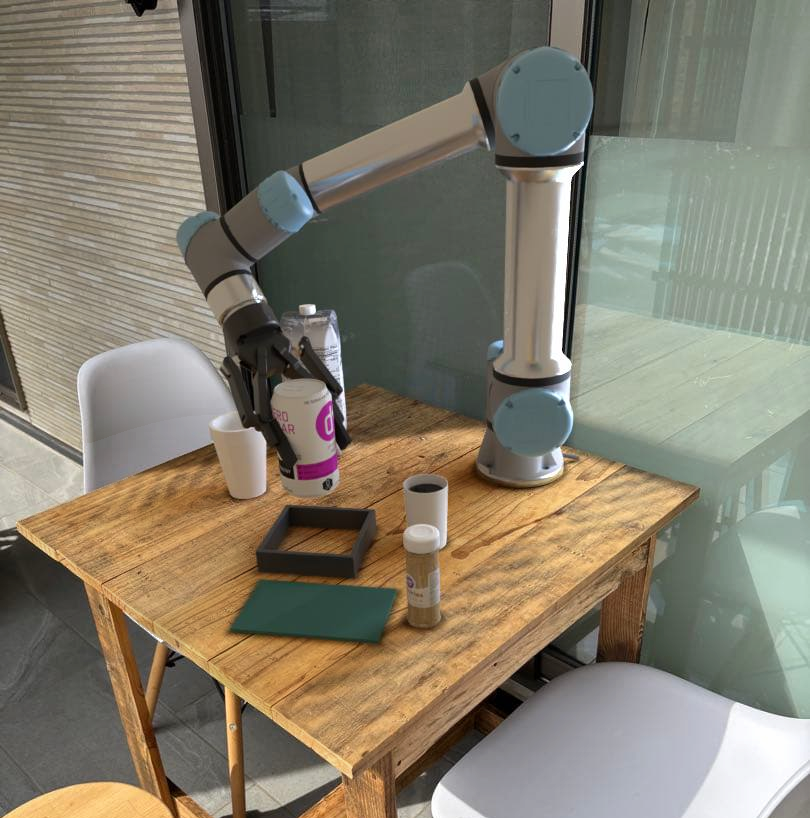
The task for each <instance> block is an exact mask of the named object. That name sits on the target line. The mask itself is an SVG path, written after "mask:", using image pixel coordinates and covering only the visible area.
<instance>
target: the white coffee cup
mask: <svg viewBox="0 0 810 818" xmlns="http://www.w3.org/2000/svg"><path fill="white" fill-rule="evenodd" d="M402 489H403V501H404V508H405V509H404V510H405V519H406V529H407V528H408V527H410V526H413V525H417V524H427V525H431V526H434V527H435V528H437V529H438V531H439V536H440V545H439V550H441V549H443V548H444V547H445V546H446V545H447V535H448V501H449V499H448V497H449V496H448V495H449V481H448V480H447V479H446V477H444V476H442V475H439V474H436V473H435V474H434V473H420V474H414V475H412V476H409V477H407V478H406V479H405V480H403V484H402Z"/></svg>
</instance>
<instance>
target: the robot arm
mask: <svg viewBox="0 0 810 818" xmlns="http://www.w3.org/2000/svg"><path fill="white" fill-rule="evenodd" d="M593 107H594V91H593V86H592V82H591V79H590V76H589V74H588V72H587V70H586V68H585V67H584V65H582V62H581V61H580V60H579V59H578V58H577V57H576V56H575V55H573V54H571V52H569V51H567V50H565V49H563V48H560V47H558V46H548V45H542V46H533V47H527V48H524V49H521V50H519V51H518V52H516V53H514V54H513V55H511V56H510V57H509V58H507V59H506V60H504V61H503V62H501V63H500V64H498V65H496V66H495V67H492V69H489V70H488V71H487V72H484V73H482V74H481V75H479V76H477V77H475V78H473V79H470V80H468V81H466V82H465V85H464V87H463V89H462V91H461V92H460V93H458V94H456V95H454V96H453V95H452V96H451V97H449V98H447V99H444V100H442V101H440V102H438V103H436V104H432V105H431V106H429V107H426V108H424V109H421V110H419V111H417V112H415V113H412V114H411V115H408V116H406V117H403V118H401V119H398V120H397V121H394V122H392V123H389V124H388V125H385V126H383V127H381V128H379V129H376V130H374V131H372V132H369V133H367V134H365V135H363V136H361V137H358V138H355V139H353V140H351V141H349V142H347V143H345V144H342V145H340V146H337V147H335V148H333V149H331V150H328V151H326V152H323V153H322V154H319V155H317V156H315V157H313V158H310V159H308V160H305V161H303V162H302V163H300V164H298V165H295V166H292V167H290V168H287V169H285V170H278V171H276V172H274V173H272V174H270V175H269V176H267V177H266V178H265V179H264V180H263V181H261V182H260V183H259V185H258V186H256V187H255V188H254V189H252V191H250V192H249V193H248V194H247V195H245V197H243V198H242V199H241V200H240V201H239V202H237V203H236V204H235V205H234V206H233V207H232V208H231V209H229V210H228V211H227V212H226V213H224V214H223V215H220V214H218V213H216V212H215V211H210V210H207V211H206V210H205V211H200V212H197V214H195V215H193V216H191V215H190V216H189V217H187V218H186V219H185V220H183V221H182V222H181V224H180V225H179V227H177V230H176V233H175V242H176V243H177V244H176V245H177V247H178V249H179V252H180V253H181V255H182V258H183V261H184V264H185V266H186V267H187V270H189V272H190V273H191V275H192V277H193V279H194V280H195V282H196V285H197V286H198V288H199V289H200V292H201V293H202V295H203V297H204V299H205V301H206V303H207V304H208V306H209V308H210V310H211V312H212V314H213V316H214V318H215V320H216V321H217V323H218V325H219V326H220V327H221V328H222V333H223V335H224V337H225V338H226V340H227V343H228V345H229V346H230V348H231V349H232V352H234V355H233V356H228V355H227V356H224V357H223V360H222V361H221V364H220V367H219V371H220V372H221V374H222V375H223V376H224V378H225V380H227V383H228V386H229V389H230V392H231V395H232V398H233V401H234V405H235V407H236V408H235V409H236V411H238V414H239V417H240V420H241V423H242V426H243V427H244V428H245V429H249V428H250V427H254V428H255V430H256V431H258V432H261V433H262V435H263V437H264V438H265V440H266V445H267V446H268V447H269V448H270V449H274V448H275V449H276V452H277V451H278V453H279V455H280V457H281V459H282V461H283V462H284V464H285V466H286V468H287V470H289V469H291V468H293V466H294V465H295V463H296V462H297V461H298V458H297V457H296V455H295V453H294V451H293V449H292V447H291V445H290V443H289V442H288V440H287V438H286V436H285V434H284V432H283V430H282V429H281V427H280V425H279V423H278V421H277V419H276V418H275V419H273V418H271V419H270V409H269V407H270V406H269V393H268V382H267V379H268V378H270V377H271V376H277V375H281V376H282V375H284V376H285V377H286V378H290V379H291V380H294V379H316V380H320V381H322V382H324V383H325V384H326V388H327V389H328V391H329V392H330V394H331V397H332V407H333V417H334V428H335V438H336V443H337V445H338V446H339V448H340V450H341V451H342V452H343V451H345V450H346V449H347V448H348V447H349V445H350V444H351V443H352V438H351V436H350V434H349V432H348V431H347V428H346V429H345V427H344V425H343V422H344V416H343V414H342V412H341V410H340V409H339V407H338V405H337V403H336V400H337V399H338V397H339V396H340V395H341V393H342V392H343V388H342V387H341V385H340V384H339V383H338V381H337V380H336V379H335V377H334V376H333V375H332V374H331V372H330V371H329V370H328V368H327V367H326V366H325V365H324V363H323V362H322V361H321V359H320V358H319V357H318V355H317V354H316V353H315V352H314V350H313V348H312V346H311V343H310V340H309V338H308V337H306V336H303V337H302V338H301V340H295V341H290V340H289V339H288V338H287V337H286V336H285V335H284V334H283V333H282V330H281V326H280V324H279V322H280V321H279V320H278V318H277V317H276V315H275V313H274V311H273V309H272V308H271V306H270V305H269V304H268V300H267V298H266V296H265V295H264V292H263V290H262V289H261V287H260V286H259V284H258V282H257V280H256V279H255V277H254V274H253V273H252V270H251V268H250V267H252V266H253V265H254V264H255V263H257V262H258V261H260V260H261V259H262V258H263V257H264V256H266V255H267V254H268V253H270V251H272V250H273V249H275V248H276V247H278V246H279V245H280V244H282V243H283V242H284V241H286V240H287V239H288V238H289V237H290V236H292V235H294V234H295V233H298V232H299V231H300V229H301V228H303V226H305V224H307V222H309V221H310V220H311V219H313V218H315V217H318V216H320V215H322V214H324V213H326V212H328V211H330V210H333V209H335V208H338V207H341V206H342V205H346V204H347V203H350V202H352V201H355V200H357V199H360V198H362V197H363V196H367V195H369V194H371V193H373V192H377V191H378V190H381V189H383V188H386V187H388V186H390V185H393V184H395V183H399V182H400V181H403V180H405V179H407V178H410V177H412V176H415V175H416V174H419V173H422V172H425V171H426V170H429V169H432V168H434V167H436V166H438V165H441V164H443V163H446V162H449V161H451V160H452V159H455V158H458V157H460V156H463V155H465V154H468V153H469V152H472V151H474V150H477V149H478V148H479V149H482V150H484V151H486V152H490V151H491V152H492V151H493V150H495V151H494V168H495V169H496V170H497V171H499V173H500V174H501V175H502V177H504V178H505V220H504V221H505V222H504V225H505V226H504V273H503V274H504V276H503V278H504V280H503V283H504V284H503V328H502V329H503V331H502V332H503V335H502V338H503V339H501V340H497V341H494V342H492V343H491V344H490V345H489V346H488V347H487V353H486V359H485V362H486V428H485V432H484V435H483V438H482V441H481V444H480V446H479V449H478V452H477V454H476V459H475V465H476V466H475V470H476V473H477V474H478V476H479V477H480V478H482V479H483V480H485V481H486V482H489V483H491V484H493V485H497V486H501V487H507V488H516V489H517V488H521V489H522V488H536V487H540V486H544V485H547V484H550V483H553V482H555V481H556V480H557V479H559V478H560V477H561V476H562V475H563V472H564V465H565V464H564V463H565V460H564V459H569V460H570V459H571V460H576V461H579V460H580V456H579V455H576V454H571V453H567V452H566V453H564V452H562V449H561V446H563V444H565V442H566V441H567V439H568V438H569V436H570V434H571V432H572V429H573V424H574V412H573V408H572V405H571V403H570V395H571V394H570V391H571V374H572V362H571V360H570V359H569V358H568V357H567V356H566V355H565V354H564V353H563V351H562V348H563V333H564V332H563V330H564V314H565V313H564V312H565V294H566V277H567V275H566V274H567V259H568V258H567V256H568V255H567V254H568V239H569V238H568V237H569V222H570V221H569V219H570V218H569V217H570V201H571V184H572V183H571V182H572V177H573V176H574V175H575V173H576V172H577V171H578V170H580V168H581V167H582V166H584V156H585V141H586V130H587V128H588V126H589V122H590V120H591V116H592V112H593ZM291 350H292V351H294V352H295V354H296V356H297V357H300V360H301V361H302V363H303V364H304V366H305V367H306V368H307V370H308V371H309V372H310V373H311V374H310V373H309V372H308V371H307V370H306V369H304V368H303V367H302V366H301V365H300V363H299V361H298V360H297V359H296V358H295V357H294V356H293V355H292V354H291ZM288 365H290V366H289V368H288V367H287V366H288ZM241 367H242V368H244V369H246V370H247V371H249V372H250V374H251V376H250V377H251V385H252V390H253V400H254V401H253V403H254V404H253V405H252V401H251V398H250V396H249V393H248V389H247V386H246V383H245V380H244V377H243V374H242V371H241ZM253 406H254V407H253ZM254 411H255V414H254Z"/></svg>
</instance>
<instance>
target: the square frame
mask: <svg viewBox="0 0 810 818" xmlns="http://www.w3.org/2000/svg"><path fill="white" fill-rule="evenodd" d="M292 527H294V528H295V527H297V528H313V529H314V528H315V529H331V530H332V529H334V530H351V531H359V532H358V535H357V537H356V539H355V542H354V544H353V546H352V548H351V550H350V552H349V554H346V553H345V554H344V553H330V552H329V553H328V552H327V553H326V552H312V551H295V550H278V549H279V548H280V547H281V544H282V543H283V541H284V540H285V538H286V536H287V535H288V533H289V531H290V530H291V528H292ZM377 528H378V527H377V513H376V508H358V507H357V508H356V507H339V506H338V507H337V506H321V505H319V506H317V505H299V504H298V505H297V504H285V506H284V507H283V509H282V510H281V512H280V513H279V514H278V516H277V518H276V519H275V520H274V522H273V524H272V526H271V527H270V528H269V530H268V531H267V533H266V534H265V536H264V538H263V539H262V540H261V543H260V544H259V546H258V547H257V548H256V550H255V552H254V553H255V559H256V565H257V571H258V573H267V574H268V573H269V574H283V575H299V576H311V577H312V576H314V577H315V576H316V577H326V578H327V577H329V578H343V579H344V578H345V579H356V577H357V574H358V572H359V570H360V568H361V565H362V563H363V561H364V558H365V556H366V554H367V552H368V549H369V547H370V545H371V543H372V540H373V538H374V536H375V534H376V531H377Z"/></svg>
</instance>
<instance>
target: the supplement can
mask: <svg viewBox="0 0 810 818" xmlns="http://www.w3.org/2000/svg"><path fill="white" fill-rule="evenodd" d="M270 409H271V416H272V419H275V418H276V419H277V421H278V423H279V425H280V427H281V429H282V430H283V432H284V434H285V436H286V438H287V440H288V442H289V443H290V445H291V447H292V449H293V451H294V453H295V455H296V457H297V458H298V461H297V462H296V463H295V465H294V466H293V468H291V469H289V470H287V468H286V466H285V464H284V462H283V461H282V459H281V457H280V455H279V453H278V451H277V450H276V453H277V460H278V461H277V462H278V468H279V476H280V484H281V487H282V489H283V491H285V492H286V493H288V495H290V496H292V497H294V498H298V499H315V498H320V497H323V496H327V495H328V494H330V493H332V492H333V491H334V490H335V489H336V487H338V485H339V484H340V471H339V470H340V469H339V462H338V456H337V449H336V438H335V428H334V417H333V407H332V397H331V394H330V392H329V391H328V389H327V388H326V384H325V383H324V382H322V381H320V380H316V379H294V380H290V381H285V382H280V383H278V384H276V386H274V388H273V393H272V395H271V399H270Z"/></svg>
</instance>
